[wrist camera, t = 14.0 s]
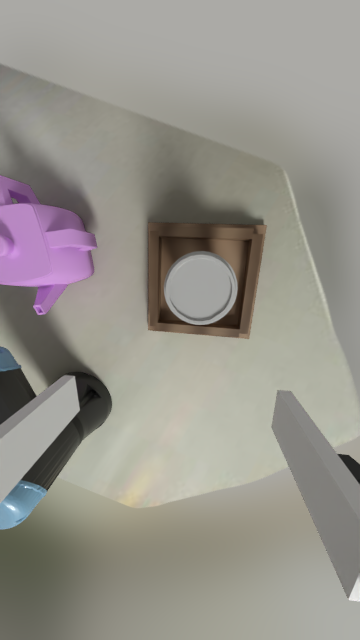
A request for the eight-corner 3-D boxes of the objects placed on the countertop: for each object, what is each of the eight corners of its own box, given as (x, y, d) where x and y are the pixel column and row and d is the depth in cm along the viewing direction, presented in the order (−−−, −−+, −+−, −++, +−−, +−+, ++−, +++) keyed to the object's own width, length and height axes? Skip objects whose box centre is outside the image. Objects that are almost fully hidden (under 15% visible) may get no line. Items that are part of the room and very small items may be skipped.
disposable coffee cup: (193, 245, 33) (187, 233, 22) (238, 274, 34) (255, 278, 22) (166, 291, 36) (148, 302, 25) (208, 317, 36) (210, 341, 25)
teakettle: (114, 241, 36) (71, 228, 24) (76, 309, 41) (24, 326, 29) (39, 183, 35) (-45, 141, 23) (9, 260, 40) (-73, 258, 28)
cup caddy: (149, 328, 40) (144, 334, 36) (150, 223, 34) (143, 218, 31) (247, 336, 38) (252, 343, 34) (264, 226, 32) (271, 221, 29)
